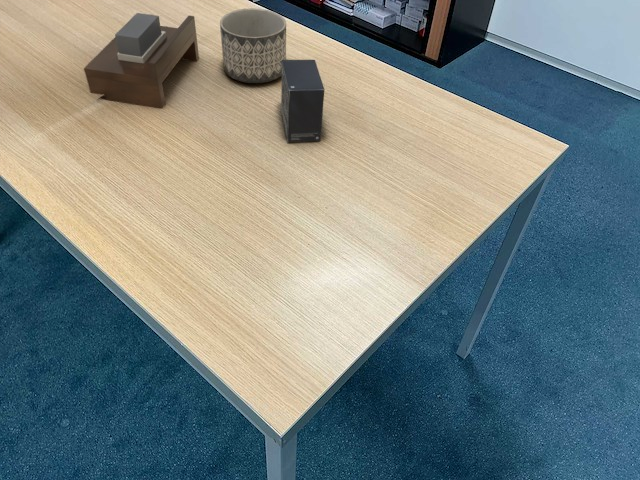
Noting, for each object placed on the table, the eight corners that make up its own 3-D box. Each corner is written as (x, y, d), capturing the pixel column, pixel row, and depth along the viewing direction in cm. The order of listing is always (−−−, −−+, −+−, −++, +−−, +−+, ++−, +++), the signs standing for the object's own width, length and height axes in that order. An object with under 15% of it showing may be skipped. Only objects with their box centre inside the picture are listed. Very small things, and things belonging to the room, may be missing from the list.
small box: (323, 142, 96) (326, 89, 89) (286, 144, 95) (287, 90, 88) (313, 109, 104) (316, 57, 96) (279, 110, 103) (279, 58, 95)
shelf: (91, 97, 102) (79, 52, 96) (136, 49, 116) (127, 6, 110) (162, 108, 101) (154, 63, 95) (199, 58, 115) (194, 15, 108)
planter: (211, 74, 110) (206, 24, 103) (250, 51, 118) (248, 2, 111) (260, 95, 106) (258, 44, 99) (297, 69, 114) (299, 20, 106)
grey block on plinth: (143, 63, 100) (139, 38, 97) (118, 59, 101) (112, 35, 97) (166, 37, 108) (162, 13, 104) (142, 33, 108) (138, 9, 105)
